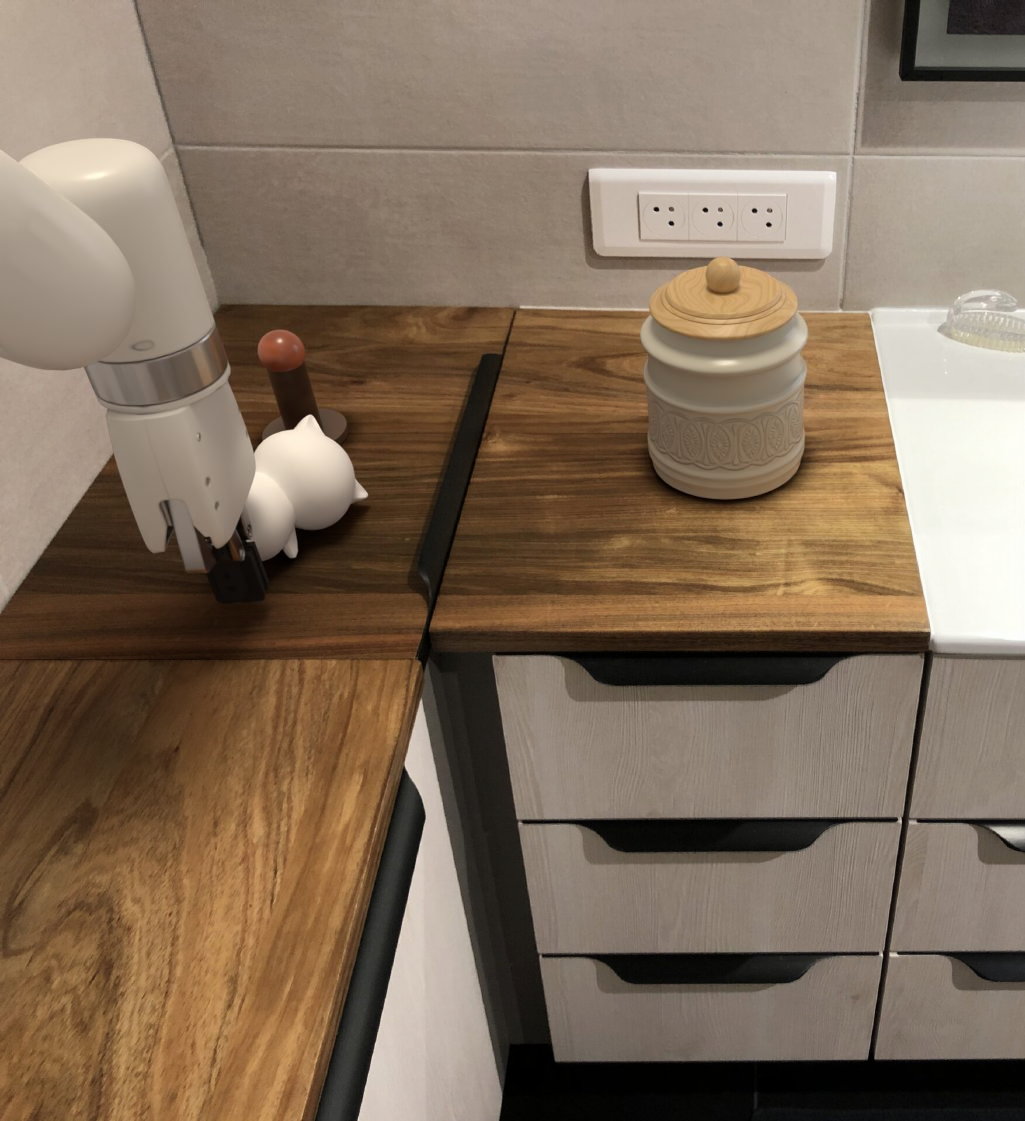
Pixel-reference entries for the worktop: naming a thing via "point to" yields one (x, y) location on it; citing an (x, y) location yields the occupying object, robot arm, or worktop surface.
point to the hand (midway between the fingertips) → (244, 594)
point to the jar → (725, 381)
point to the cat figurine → (298, 487)
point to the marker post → (295, 387)
